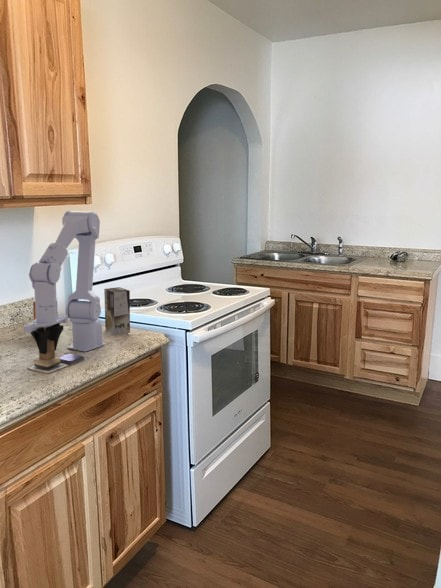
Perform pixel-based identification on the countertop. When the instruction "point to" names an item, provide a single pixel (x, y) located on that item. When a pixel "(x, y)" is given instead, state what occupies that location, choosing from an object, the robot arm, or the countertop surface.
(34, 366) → the print mark
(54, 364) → the stamp
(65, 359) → the ink pad
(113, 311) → the coffee box
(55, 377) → the countertop surface
